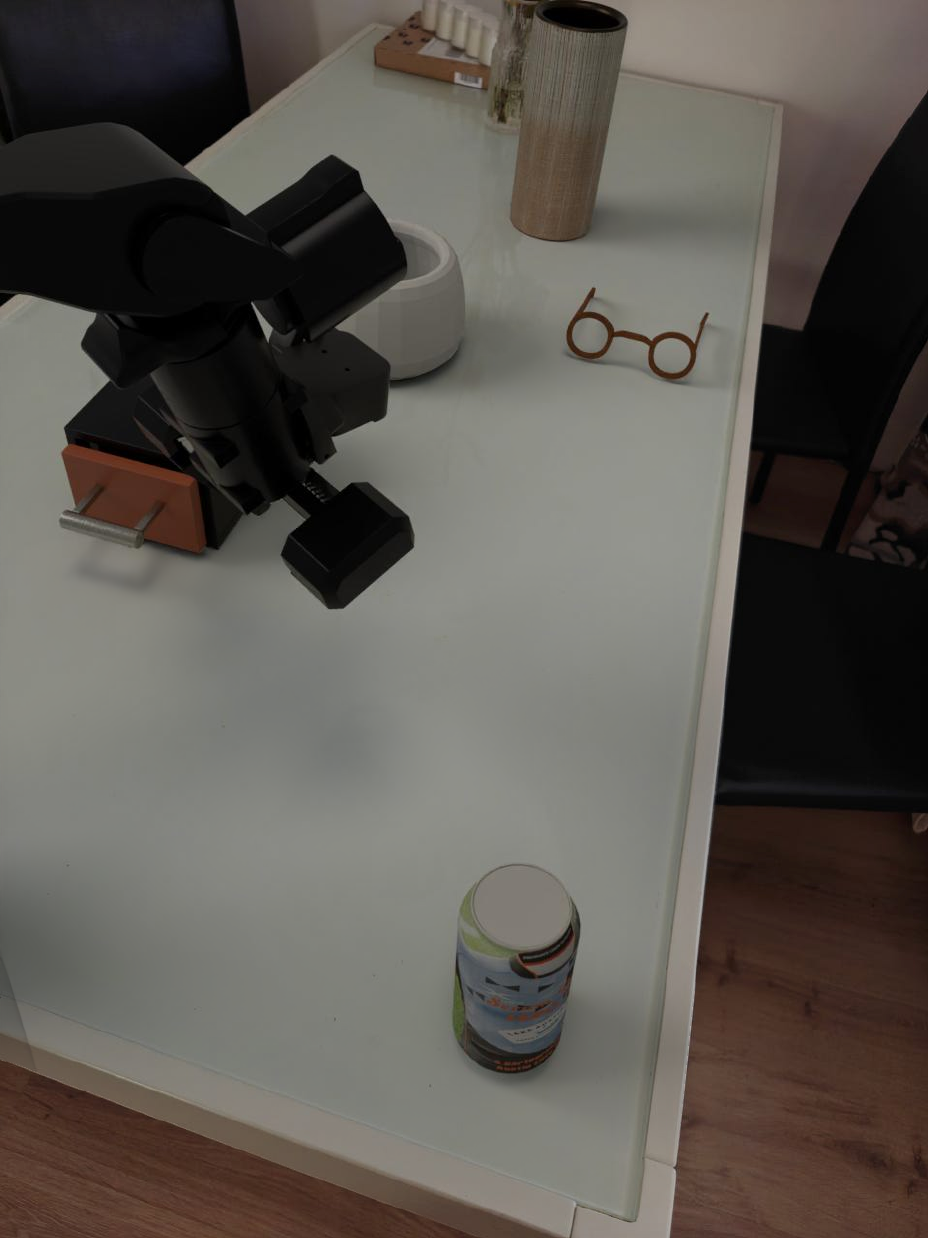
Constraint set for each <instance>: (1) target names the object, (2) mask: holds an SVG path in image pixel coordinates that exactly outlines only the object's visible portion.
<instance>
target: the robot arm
mask: <svg viewBox="0 0 928 1238" xmlns="http://www.w3.org/2000/svg"><path fill="white" fill-rule="evenodd" d="M386 218H387V217H386V216H385V215H384V213H383V212H382V210H381V208H380V207H379V206H378V204H377V203H376V201H374V199H373V198H372V197H371V195H370V194H369V193H368V192H367V191H366V190H365V186H364V184H363V181H362V177H361V174H360V170H358V169H356V168H355V167H353V166H352V165H351V164H350V163H348V162H346V161H344V160H343V159H342V158H340V157H338V156H337V155H335V154H329V155H328V156H326V157H324V158H323V159H322V160H320V161H319V162H317V163H316V164H315V165H313V166H312V167H310V169H308V171H307V172H306V173H305V174H304V175H303V176H302V177H300V178H299V179H298V180H297V181H296V182H294V183H292V184H291V185H289V186H288V187H286V188H284V189H283V190H282V191H280V192H278V193H277V194H276V195H274V196H273V197H271V198H269V199H268V200H266V201H265V202H263V203H262V204H261V205H259V206H258V207H256V208H254V209H253V210H251V211H250V212H248V213H246V214H244V213H243V212H242V211H240V210H239V209H237V208H236V207H235V206H233V204H231V203H230V202H229V201H227V200H226V199H224V197H222V196H221V195H220V194H218V193H217V192H215V191H214V190H213V189H212V188H211V187H210V186H209V185H208V184H206V183H205V182H204V181H202V179H200V178H199V177H197V176H196V175H195V174H193V173H192V172H191V171H190V170H188V169H187V168H186V167H185V166H184V165H182V164H181V163H180V162H178V161H177V160H175V159H174V158H173V157H172V156H170V155H169V154H167V152H165V151H164V150H162V149H161V148H160V147H159V146H157V145H156V144H155V143H154V142H152V141H151V140H150V139H148V138H147V137H146V136H144V135H143V134H142V133H141V132H139V131H138V130H135V129H133V128H132V127H129V126H127V125H124V124H119V123H115V122H110V121H109V122H107V121H106V122H93V123H88V124H81V125H76V126H69V127H62V128H57V129H52V130H50V129H49V130H45V131H39V132H33V133H28V134H25V135H22V136H20V137H18V138H16V139H15V140H12V141H10V142H8V143H6V144H4V145H3V146H0V294H10V295H11V294H12V295H21V296H30V297H34V298H38V299H41V300H44V301H49V302H52V303H54V304H55V303H56V304H60V305H63V306H66V307H70V308H74V309H77V310H81V311H85V312H88V313H94V314H95V316H94V319H93V321H92V322H91V324H89V326H87V328H86V330H85V333H84V335H83V337H82V339H81V341H80V348H81V350H82V351H83V352H84V354H86V355H87V357H88V358H89V359H90V360H91V361H92V362H93V363H94V364H95V365H96V366H97V368H99V370H100V371H101V372H102V373H103V374H104V375H105V376H106V377H107V379H108V380H111V381H112V382H113V384H114V385H115V386H116V387H117V388H119V389H121V390H126V389H128V388H130V387H131V386H133V385H134V384H136V383H137V382H139V381H140V380H142V379H143V378H144V377H146V376H147V375H149V374H150V376H151V377H152V379H153V381H154V382H155V383H154V384H153V385H151V386H150V387H149V388H147V389H146V390H145V391H143V392H142V393H141V394H139V395H138V397H137V400H136V403H135V407H134V410H133V413H132V416H133V418H134V419H135V421H136V423H137V424H138V426H139V427H140V429H141V430H142V432H143V433H144V435H145V436H146V437H147V438H148V439H149V440H150V441H151V442H152V443H154V444H155V445H156V446H157V447H158V448H159V449H160V450H161V451H162V452H163V453H164V454H165V455H166V456H167V457H168V458H169V459H170V460H171V461H172V462H173V463H174V464H175V465H177V466H178V467H179V468H180V469H181V470H182V471H183V472H184V473H186V474H187V475H189V476H191V477H192V478H194V479H196V480H197V481H199V482H201V483H202V484H204V485H206V486H208V487H209V488H211V489H212V490H214V491H216V492H217V493H219V494H221V495H222V496H224V497H226V498H227V499H229V500H230V501H231V502H232V503H233V504H234V505H235V506H237V507H238V508H239V509H240V510H241V511H242V512H243V515H245V516H246V517H248V516H249V515H251V514H252V515H254V516H256V517H261V516H262V515H263V514H265V513H266V512H268V511H269V510H270V508H271V504H273V503H276V502H278V501H280V500H283V501H284V502H285V503H286V504H287V505H288V506H289V507H290V508H291V509H292V510H294V511H295V512H296V513H297V514H298V515H299V516H300V517H302V519H304V521H303V522H302V523H300V525H298V526H297V527H295V529H293V530H292V531H291V532H289V534H288V535H287V537H286V540H285V542H284V545H283V547H282V549H281V552H280V554H279V557H280V558H281V559H282V561H283V563H284V565H285V566H286V567H287V569H288V570H289V571H290V575H291V576H293V577H294V578H295V579H296V580H297V581H298V582H299V583H300V585H302V586H303V587H304V588H305V589H306V590H307V591H308V592H309V593H310V594H311V595H313V596H314V598H316V599H317V600H318V601H319V602H320V603H321V604H322V605H324V607H325V608H326V609H327V610H344V609H345V608H346V607H348V606H349V605H350V604H351V603H352V602H353V601H354V600H356V599H357V598H358V597H359V596H360V595H362V594H363V592H365V591H366V590H367V589H369V587H370V586H372V585H373V584H374V583H375V582H376V581H377V580H378V579H380V578H381V577H382V576H383V575H384V574H385V573H387V572H388V571H389V570H390V569H391V568H392V567H394V566H395V565H396V564H397V563H399V562H400V561H401V560H402V559H403V558H404V557H405V556H406V555H407V554H408V553H410V552H411V551H412V550H413V549H415V540H416V535H415V531H414V528H413V525H412V521H411V519H410V516H409V514H407V513H406V512H405V511H404V510H402V509H401V508H400V507H398V506H397V505H396V504H395V503H393V501H391V500H390V499H389V498H388V497H387V496H385V494H383V493H382V492H381V491H380V490H379V489H377V488H376V487H375V486H374V485H372V484H371V483H370V482H369V481H354V482H353V481H352V482H350V483H349V484H348V485H346V486H345V487H344V488H343V489H341V490H339V489H337V488H336V486H334V485H333V484H332V483H330V482H329V481H328V480H327V479H326V478H325V477H324V476H322V475H321V474H320V473H319V472H317V470H315V469H314V468H313V467H312V466H311V465H313V464H314V462H315V463H316V464H317V465H318V466H322V465H323V464H324V463H326V462H327V461H328V460H329V459H331V458H332V457H333V456H335V454H337V453H338V451H337V448H336V446H335V442H334V440H333V438H334V437H340V436H342V435H345V434H347V433H349V432H351V431H353V430H355V429H358V428H361V427H362V426H365V425H366V424H369V423H371V422H373V423H377V422H380V421H382V420H383V419H385V418H386V417H387V414H388V405H389V393H390V381H391V380H390V371H391V365H390V363H389V362H388V361H387V360H386V359H385V358H384V357H382V356H381V355H380V354H378V353H377V352H376V351H374V350H373V349H372V348H370V347H369V346H368V345H366V344H365V343H364V342H362V341H361V340H359V339H358V338H357V337H355V336H354V335H353V334H351V333H349V332H345V331H339V330H338V329H336V328H335V327H336V326H337V325H339V324H340V323H342V322H343V321H344V320H346V319H347V318H349V317H350V316H352V315H353V314H354V313H356V312H357V311H359V310H360V309H362V308H363V307H364V306H366V305H367V304H369V303H370V302H372V301H373V300H374V299H376V298H377V297H379V296H380V295H381V294H383V293H384V292H386V291H387V290H389V289H390V288H391V287H393V286H394V285H396V284H397V283H399V282H400V281H401V280H403V279H404V278H405V276H406V274H407V259H406V253H405V250H404V247H403V244H402V242H401V241H400V239H399V238H397V237H396V236H395V235H394V233H393V231H392V229H391V227H390V225H389V223H388V221H387V220H386ZM254 307H255V308H254ZM255 309H256V310H257V311H258V312H259V314H260V316H261V317H262V318H263V320H265V322H266V323H267V324H268V325H269V326H270V327H271V328H272V330H271V332H270V335H269V337H268V339H267V336H266V334H265V331H264V329H263V326H262V325H261V322H260V319H259V318H258V315H257V313H256V310H255Z"/></svg>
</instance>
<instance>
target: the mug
mask: <svg viewBox="0 0 928 1238" xmlns="http://www.w3.org/2000/svg"><path fill="white" fill-rule="evenodd" d="M385 218H386V220H387V221H388V223H389V225H390V227H391V229H392V231H393V233H394V235H395V236H396V237H397V238H399V239H400V241H401V242H402V244H403V247H404V250H405V253H406V259H407V274H406V276H405V278H404V279H403V280H401V281H400V282H399V283H397V284H396V285H394V286H393V287H391V288H390V289H389V290H387V291H386V292H384V293H383V294H381V295H380V296H379V297H377V298H376V299H374V300H373V301H372V302H370V303H369V304H367V305H366V306H364V307H363V308H362V309H360V310H359V311H357V312H356V313H354V314H353V315H352V316H350V317H349V318H347V319H346V320H344V321H343V322H342V323H340V324H339V325H337V326H336V327H335V328H336V329H338V330H339V331H345V332H349V333H351V334H353V335H354V336H355V337H357V338H358V339H359V340H361V341H362V342H364V343H365V344H366V345H368V346H369V347H370V348H372V349H373V350H374V351H376V352H377V353H378V354H380V355H381V356H382V357H384V358H385V359H386V360H387V361H388V362H389V363H390V365H391V371H390V381H399V380H405V379H411V378H416V377H419V376H421V375H425V374H427V373H429V372H432V371H433V370H435V369H437V368H439V367H440V366H441V365H443V364H444V363H446V362H447V361H449V360H450V359H451V358H452V357H453V355H454V354H455V353H456V352H457V350H458V349H459V347H460V343H461V341H462V338H463V334H464V329H465V325H466V296H465V285H464V278H463V273H462V269H461V265H460V261H459V257H458V254H457V253H456V251H455V249H454V247H453V245H451V243H450V242H449V241H448V239H447V238H446V237H445V236H443V235H441V234H440V233H438V232H437V231H436V230H434V229H431V228H429V227H427V226H424V225H423V224H420V223H416V222H412V221H408V220H404V219H399V218H392V217H385Z"/></svg>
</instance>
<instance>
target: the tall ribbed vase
mask: <svg viewBox="0 0 928 1238" xmlns="http://www.w3.org/2000/svg"><path fill="white" fill-rule="evenodd" d="M532 19H533V20H532V27H531V36H530V44H529V53H528V61H527V62H528V63H527V68H526V69H527V70H526V76H525V85H524V93H523V101H522V111H521V118H520V125H519V137H518V143H517V152H516V160H515V167H514V168H515V169H514V178H513V183H512V185H513V186H512V191H511V192H512V193H511V202H510V215H509V218H510V221H511V223H512V225H514V226H515V227H516V229H518V230H519V231H521V232H522V233H524V234H526V235H528V236H531V237H534V238H537V239H542V240H549V241H570V240H575V239H579V238H580V237H582V236H585V235H586V234H587V233H588V232H589V230H590V229H591V227H592V221H593V217H594V213H595V212H594V211H595V206H596V201H597V197H598V196H597V195H598V190H599V184H600V179H601V174H602V169H603V163H604V158H605V152H606V147H607V141H608V136H609V130H610V126H611V125H610V124H611V120H612V114H613V108H614V104H615V97H616V92H617V86H618V82H619V76H620V70H621V65H622V59H623V54H624V49H625V43H626V38H627V32H628V27H629V20H628V18H627V17H626V15H625V14H624V13H623V12H621V11H620V10H618V9H616V8H614V7H611V6H609V5H606V4H603V3H599V2H596V1H589V0H547V1H544V2H541V3H539V4H538V5H537V6H536V7H535V9H534V11H533V18H532Z"/></svg>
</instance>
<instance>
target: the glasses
mask: <svg viewBox="0 0 928 1238" xmlns="http://www.w3.org/2000/svg"><path fill="white" fill-rule="evenodd" d="M595 294H596V287H595V286H592V287H591V288H590V290H589V292H588V293H587V295H586V297H585V299H584V301H583V302H582V303H581V305H580V307H579V308H578V309H577V311H576V313H574V316H573V317H572V318H571V320H570V322H569V323H568V325H567V329H566V334H565V337H566V339H565V340H566V343H567V346H568V349H569V350H570V351H571V352H572V353H573V354H574V355H576V356H578V357H579V358H581V359H585V360H597V359H600V358H602V357H603V356H605V355H606V354H607V352H608V351H609V350H610V347H611V345H612V344H613V340H614V338H624V339H628V340H631V341H636V342H641V343H644V344H645V345H647V346H648V355H647V361H648V366H649V369H650V370H651V372H653V374H655V375H656V376H658V377H660V378H662V379H665V380H673V381H674V380H680V379H683V378H684V377H686V376H687V375H689V374H690V373H691V371H692V370H693V368H694V366H695V363H696V360H697V350H698V347H699V343H700V340H701V337H702V334H703V330H704V328H705V325H706V322H707V320H708V318H709V315H710V312H707V311H706V312H705V313H704V315H703V317H702V318H701V320H700V322H699V325H700V326H699V329H698V331H697V335H696V338H695V341H693V340H692V338H690V336H688V335H686V334H684V333H681V332H677V331H666V332H662V333H660V334H658V335H656V336H654V337H653V338H652V340H651V339H650V338H649V337H648V336H646V335H644V334H641V333H638V332H637V333H636V332H632V331H629V330H624V329H623V330H622V329H621V330H617V331H616V330H615V328H614V326H613V323H611V321H610V320H609V319H608V318H607V317H606V316H605V315H603V314H601V313H599V312H596V311H585V310H586V308H587V307H588V305H589V303H590V301H591V299H594V296H595ZM584 319H593V320H596V321H598V322H600V323H601V324H602V325H603V326H604V328H605V329H606V333H607V339H606V342H605V344H604V346H603V347H602V348H601V349H599V350H598V351H596V352H587V351H584V350H582V349H580V348H578V346H577V345H576V344H575V343H574V339H573V332H574V328H575V326H576V324H577V323H578V322H580V321H581V320H584ZM668 339H674V340H675V339H676V340H679V341H681V342H683V343H684V344H685V345H686V346H687V347H688V350H689V353H690V356H689V360H688V364H687V366H686V367H684V369H682V370H680V371H678V372H667V371H664V370H662V369H661V368H660V367H659V366H658V365H657V364H656V362H655V350H656V347H657V345H658V344H659V343H661V342H662V341H664V340H668Z"/></svg>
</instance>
